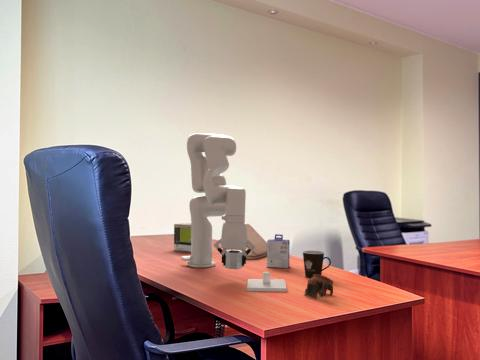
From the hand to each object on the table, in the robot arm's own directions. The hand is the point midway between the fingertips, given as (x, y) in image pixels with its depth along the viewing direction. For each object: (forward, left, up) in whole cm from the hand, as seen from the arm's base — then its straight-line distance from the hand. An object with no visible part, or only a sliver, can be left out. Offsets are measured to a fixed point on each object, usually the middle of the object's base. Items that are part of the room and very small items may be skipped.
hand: (233, 264), depth 173 cm
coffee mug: (+33, +9, -6) cm, 34 cm away
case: (+4, +60, -7) cm, 60 cm away
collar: (0, 0, -1) cm, 1 cm away
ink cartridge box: (+19, +30, -6) cm, 36 cm away
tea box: (-28, +72, -6) cm, 78 cm away
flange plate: (+13, -8, -6) cm, 16 cm away
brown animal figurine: (+31, -20, -7) cm, 37 cm away
